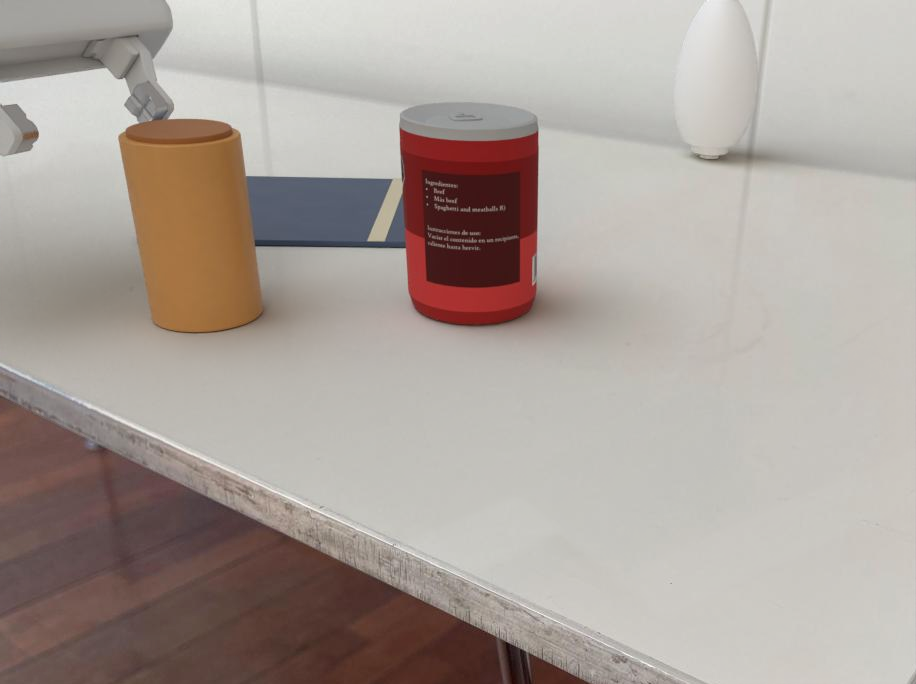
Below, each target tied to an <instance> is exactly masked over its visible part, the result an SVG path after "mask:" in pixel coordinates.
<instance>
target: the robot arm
mask: <svg viewBox="0 0 916 684" xmlns="http://www.w3.org/2000/svg"><path fill="white" fill-rule="evenodd" d="M173 29H174V19H173V14H172V9H171V7H170V5H169V3H168V2H167V0H0V84H2V83H10V82H16V81H17V82H18V81H24V80H32V79H39V78H46V77H53V76H59V75H67V74H73V73H80V72H81V73H82V72H88V71H95V70H102V69H107V70H108V71H109V72H110V74H111V75H112V76H113V77H114V78H115V79H116V80H125V82H126V85H127V88H128V91H129V96H128V97H127V99H126V101H125V102H124V105H123V106H124V107H125V108H126V109H127V111H128V112H129V113H130V114H131V115H132V116H134V117H135V118H136V121H137V122H138V123H142V122H148V121H155V120H166V119H170V118H169V117H171V114H173V112H174V110H175V103H174V102H173V100H172V98H171V96H169V95H168V93H167V92H166V90H164V88H162V86H161V85H160V84H159V83H158V82H157V81H158V78H157V74H156V69H155V66H154V61H153V60H154V59H155V58H156V56H157V55H158V53H160V51H161V50H162V49H163V46H164V45H165V43H166V41H167V40H168V38H169V36H170V35H171V33H172V31H173ZM39 136H40V132H39V129H38V126H36V124H35V123H34V121H32V120H30V119H29V118H27V113H26V112H25V111H24V110H23V109H22V108H21V107H20V105H18V104H17V103H12V104H4V105H3V104H2V103H0V156H1V157H7V156H12V155H13V156H14V155H17V154H22V153H27V152H31V151H32V150H33V148H34V145H33V144H35V143H36V142H37V141H38V140H39Z"/></svg>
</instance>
